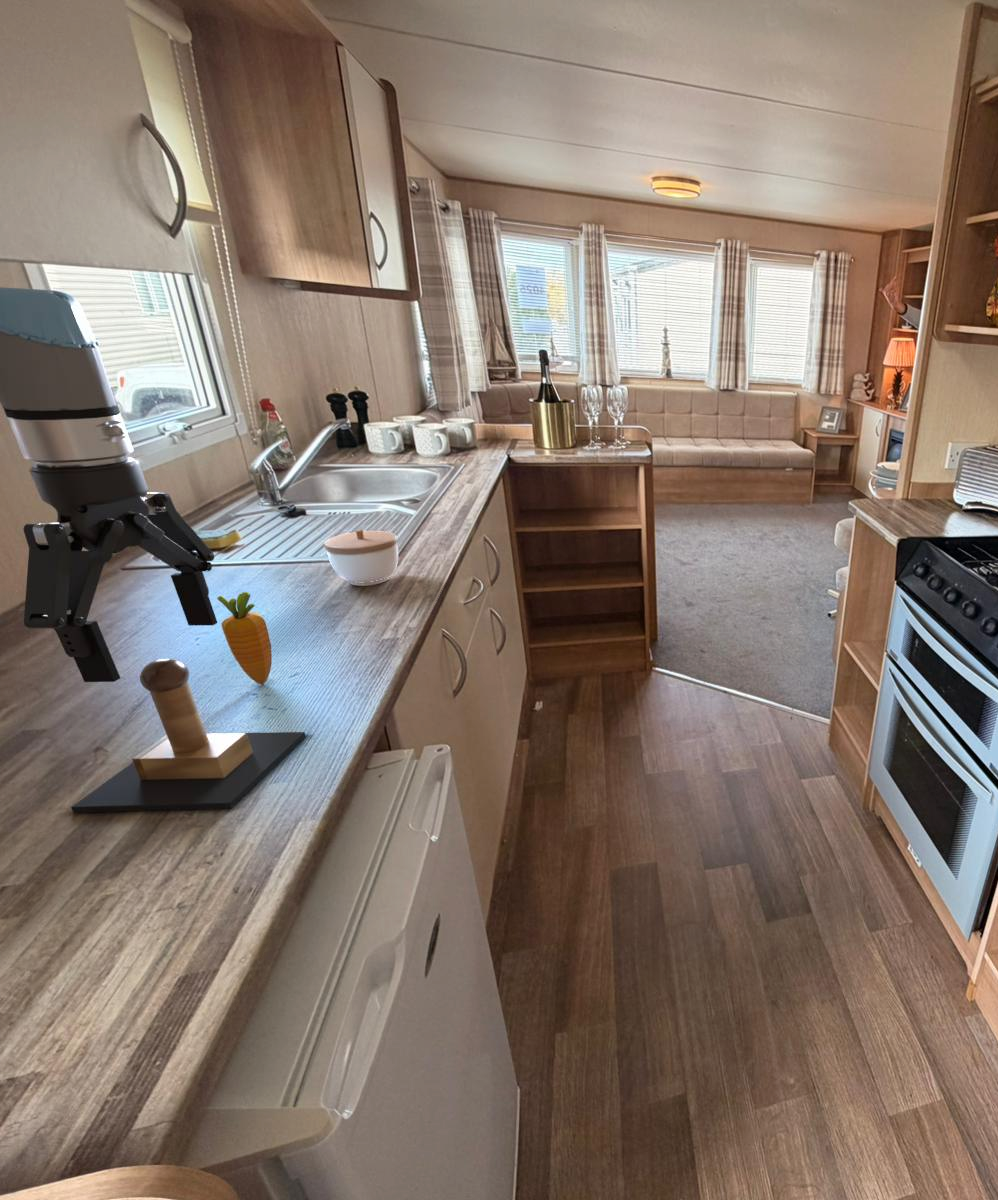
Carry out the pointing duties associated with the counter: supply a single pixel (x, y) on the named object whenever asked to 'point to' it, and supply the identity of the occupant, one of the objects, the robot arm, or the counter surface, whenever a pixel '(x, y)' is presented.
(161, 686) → the stamp
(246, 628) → the carrot
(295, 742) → the mat
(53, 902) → the counter surface
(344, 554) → the lidded bowl
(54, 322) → the robot arm
